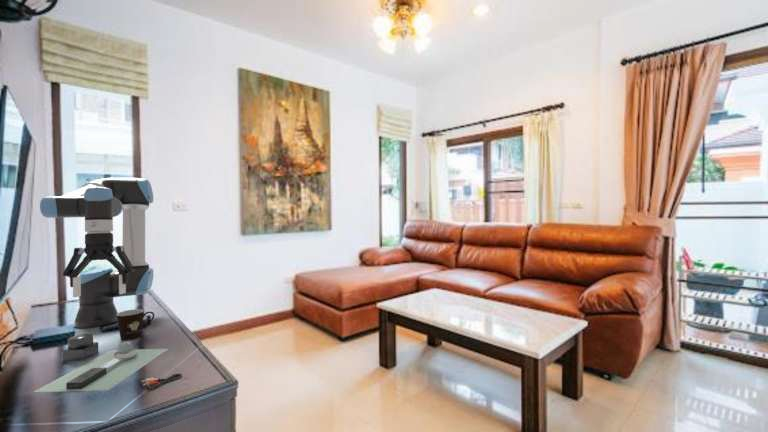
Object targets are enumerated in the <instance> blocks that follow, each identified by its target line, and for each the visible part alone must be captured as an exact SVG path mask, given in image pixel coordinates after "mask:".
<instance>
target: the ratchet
mask: <svg viewBox="0 0 768 432" xmlns="http://www.w3.org/2000/svg"><path fill="white" fill-rule="evenodd" d="M137 349H138V348H134V347H133V341H132V340H126V341H123V342H120V343H118V350H119V351H118V352H116V353H115V354H114V359H112V360H110V361H109V362H107V363H105V364H103V365H102V366H100V367H98V368H92V369H90V370H88V371H86V372H85V373H83V374H81V375H79V376H78V377H76V378H74V379H72V380H71V381H69V382H67V383H66V388H67V389H82V388H84V387H86V386H87V385H89V384H90V383H92V382H94V381H95V380H97V379H98V378H100V377H102V376H103V375H105V374H107V372H108V371H110V370H112V369H113V368H115V367H117V366H118V365H120V364H121V363H123V362H124V361H128V360H131V359H134V358H135V357H136V356H137Z"/></svg>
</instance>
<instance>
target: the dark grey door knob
mask: <svg viewBox="0 0 768 432" xmlns="http://www.w3.org/2000/svg"><path fill="white" fill-rule="evenodd" d="M97 354H99V341H94V334H93V333H82V334H77V335H74V336H70V337H69V338H67V347H66V348H64V349H62V361H63V362H80V361H81V362H83V361H85V360H88V359H89V358H91V357H93V356H95V355H97Z"/></svg>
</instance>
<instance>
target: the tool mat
mask: <svg viewBox="0 0 768 432" xmlns="http://www.w3.org/2000/svg"><path fill="white" fill-rule="evenodd" d="M136 349H137V356H136V357H135V358H134V359H131V360H128V361H124V362H123V363H121V364H120V365H118V366H117V367H115V368H113V369H112V370H110V371H108V372H107V374H105V375H103V376H102V377H100V378H98V379H97V380H95V381H94V382H92V383H90V384H89V385H87V386H86V387H84V388H82V389H67V388H66V383H67V382H69V381H71V380H72V379H74V378H76V377H78V376H79V375H81V374H83V373H85V372H86V371H88V370H90V369H92V368H98V367H100V366H102V365H103V364H105V363H107V362H109V361H110V360H112V359H114V354H115V353H116V352H118V351H119V349H110V350H108V351H106V352H105V353H103V354H101V355H99V356H97V357H95V358H93V359H92V360H89V361H88V362H86V363H84V364H82V365H81V366H78V367H77V368H75V369H74V370H71V371H69V372H68V373H66V374H64V375H62V376H60V377H59V378H56V379H55V380H53V381H51V382H49V383H47V384H46V385H44V386H42V387H39V388H38V389H36V390H35V391H33V393H54V392H55V393H56V392H57V393H58V392H90V391H91V392H93V391H110V390H111V389H113V388H114V387H115V386H118V385H119V384H120V383H121V382H123V381H124V380H126V379H127V378H128V377H130V376H131V375H133V374H134V373H136V372H138V371H139V370H140V369H142V368H143V367H144V366H146V365H147V364H149V363H151V362H152V361H154V360H155V359H156V358H158V357H159V356H161V355H162V354H164V353H165V352H166V351H168V350H169V348H148V349H147V348H144V349H142V348H141V349H140V348H139V349H138V348H136Z"/></svg>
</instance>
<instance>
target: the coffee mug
mask: <svg viewBox="0 0 768 432" xmlns="http://www.w3.org/2000/svg"><path fill="white" fill-rule="evenodd" d="M147 314H151V315H152V317H151V319H149V321H147V322H146V323H145V324H144V325H143V322H144V318H145V316H146V315H147ZM116 316H117V321H116V322H117V325H118V331H119V336H120V340H121V341H123V342H126V341H132V340H133V341H134V340H135V339H138V338H141V337H142V334H143V329H144V328H145V327H146V326H148V325H149V324H150V323H151V322H152V321H153V320H154V318H155V313H154V312H153V311H146V312H145V310H144V309H140V308H135V309H129V310H123V311H120V312H118V313H117V314H116Z"/></svg>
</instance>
